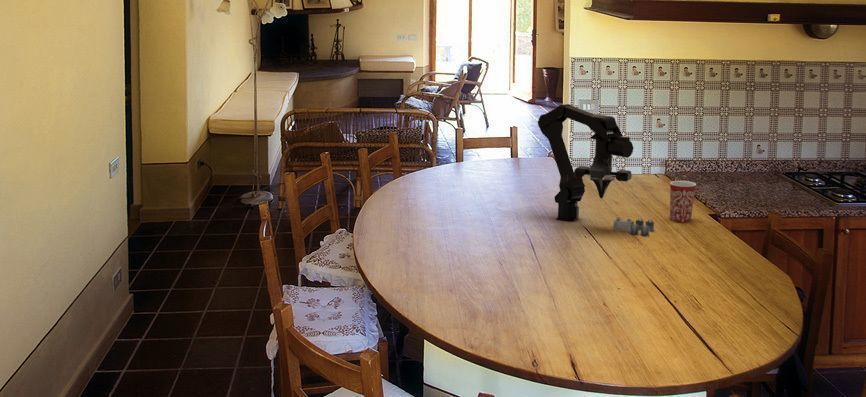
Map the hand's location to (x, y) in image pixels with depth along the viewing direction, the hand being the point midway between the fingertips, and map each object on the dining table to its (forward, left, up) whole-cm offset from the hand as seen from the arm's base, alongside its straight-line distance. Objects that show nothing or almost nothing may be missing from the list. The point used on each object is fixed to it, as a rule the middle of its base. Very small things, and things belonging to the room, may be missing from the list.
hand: (601, 198), depth 303 cm
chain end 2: (+16, 0, -10) cm, 19 cm away
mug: (+22, +24, -11) cm, 34 cm away
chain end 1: (+13, 0, -10) cm, 17 cm away
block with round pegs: (+8, 0, -11) cm, 13 cm away
